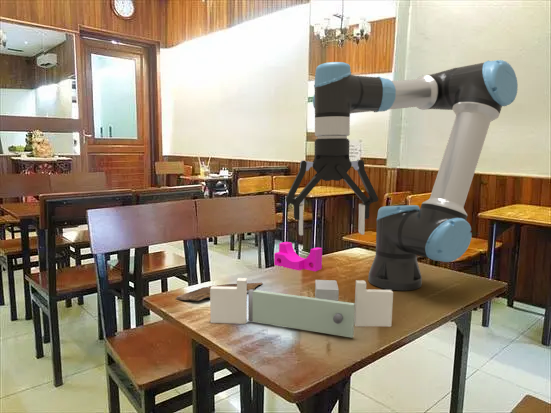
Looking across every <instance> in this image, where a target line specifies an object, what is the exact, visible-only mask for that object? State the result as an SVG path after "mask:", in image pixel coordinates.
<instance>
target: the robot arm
mask: <svg viewBox="0 0 551 413" xmlns="http://www.w3.org/2000/svg"><path fill="white" fill-rule="evenodd" d="M351 71H352V69H351V65H350V64H349V63H346V62H343V61H331V62H330V61H329V62H328V61H327V62H324V63H321V64H319V65H317V66H316V68H315V71H314V73H315V74H314V84H313V87H314V94H313V97H312V105H313V108H314V136H315V137H316V139H315V140H314V159H313V161H307V160H304V159H302V160H300V164H299V171H298V173H297V174H296V177H295V179H294V181H293V182H292V184H291V187H290V189H289V191H288V193H287V194H286V197H285V201H286V203H287V204H291V205H292V206H293V218H294V220H295V221H298V235H299V236H304V206H303V204H302V202H303V201H304V200H305V198H306V197H307V196H308V195H309V194H310V193H311V191H312V190H313V189H314V188H315V187H316V185H317V184H318V183H320V181H321V180H322V181H324V182H329V181H334V182H340V181H342V180H343V181H344V182H345V183H346V185H347V186H348V187H349V188H350V189H351V190H352V192H354V194H355V195H356V197H357V198H359V200H360V201H361V202H362V203H358V227H357V228H358V229H357V230H358V234H360V235H365V226H366V224H365V220H368V219H369V218H370V206H371V204H372V203H376V202H378V201H379V197H378V195H377V193H376V191H375V189H374V187H373V185H372V182H371V181H370V178H369V176H368V174H367V172H366V170H365V161H364V160H362V159H357V160H352V161H351V158H350V139H349V138H348V137H349V136H350V134H351V133H350V129H351V128H350V126H351V125H350V122H351V121H350V120H351V114H358V113H368V112H369V113H370V112H373V113H379V112H386V111H388V110H398V109H408V108H418V109H419V110H422V111H423V110H445V111H453V113H454V114H455V118H454V120H453V121H454V122H453V125H452V127H451V131H450V134H449V137H448V140H447V143H446V145H445V150H444V153H443V156H442V160H441V162H440V165H439V169H438V172H437V175H436V177H435V178H436V179H435V180H434V185H433V187H432V190H431V193H430V197H429V199H426V200H425V201H423V202H422V203H421V204H420V206H419V205H416V204H405V205H386V206H385V205H384V206H381V207H380V208H379V209H378V211H377V218H376V228H375V230H376V231H375V232H376V234H375V255H374V259H373V261H372V264H371V266H370V269H369V272H368V282H369V284H370V285H373V286H375V287H378V288H381V289H384V290H392V291H413V290H418V289H420V288H421V287H422V283H423V282H422V280H423V278H422V274H421V273H422V272H421V270H420V266H419V262H418V258H417V256H420V257H424V258H428V259H430V260H432V261H435V262H437V261H438V262H439V261H440V262H443V263H451V262H454V261H456V260H458V259H459V258H461V257H462V256H463V255H464V254H465V253H466V251H467V250H468V248H469V246H470V244H471V241H472V236H473V234H472V232H471V231H472V226H471V224H470V223H469V222H468V220H467V219H468V213H467V212H466V210H465V208H464V207H465V203H466V202H467V201H466V200H467V198H468V194H469V191H470V188H471V186H472V185H471V184H472V181H473V178H474V176H475V172H476V169H477V166H478V163H479V159H480V156H481V153H482V149H483V147H484V144H485V140H486V138H487V134H488V131H489V128H490V125H491V123H492V122H493V121H495V120H497V119H498V118H499V116H500V114H501V111H502V108H503V107H507V106H509V105H511V104H512V103H514V102H515V100H516V97H517V93H518V90H519V89H518V78H517V75H516V71H515V70H514V67H512V65H511V64H510V63H509V62H507V61H506V60H502V59H497V60H486V61H484V62H481V63H475V64H474V63H473V64H469V65H464V66H459V67H453V68H449V69H447V70H442V71H439V72H436V73H432V74H424V75H423V74H422V75H421V76H419V77H417V78H415V79H402V80H401V79H400V80H399V79H398V80H390V79H389V78H386V77H385V78H384V77H380V76H366V75H365V76H364V75H354V74H352V72H351ZM352 167H353V169H354V170H355V171H356V172H357V174H358V176H359V178H360V180H361V182H362V184H363V186H364V188H365V191H366V192H367V195H368V196H366V194H365V193H364V192H363V191H362V190H361V188H360V187H359V186H358V185H357V183H356V182H354V180H353V179H352V178H351V176H350V175H349V174H348V172H349V170H351V168H352ZM310 168H313V170H314V171H315V172H316V173H315V174H314V176H312V178H311V179H310V180H309V181H308V183H307V184H306V185H305V186H304V187H303V189H302V190H300V192H299V194H298V195H297V196H296V197H295V195H296V193H297V191H298V189H299V187H300V184H301V183H302V181H303V178H305V175H306V172H308V171H310Z"/></svg>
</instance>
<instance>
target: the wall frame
mask: <svg viewBox="0 0 551 413" xmlns="http://www.w3.org/2000/svg"><path fill="white" fill-rule="evenodd" d="M247 279H248V278H247V277H237V280H236V284H237V287H222V286H217V285H210V286H211V288H210V297H209V299H210V300H209V302H210V304H209V305H210V323H211V324H237V325H239V324H240V325H242V324H243V325H246V324H247V318H248V316H247V314H248V307H247V305H248V303H247V302H248V301H247V299H248V296H247V295H248V294H247V292H248V291H247V283H248V280H247ZM393 291H394V290H390V289H372V288H371V289H367V282H366V280H362V279H361V280H358V279H356V280H355V291H354V292H355V293H354V303H355V310H354V327H364V328H365V327H392V321H393V305H394V304H393V303H394V302H393V301H394V292H393Z"/></svg>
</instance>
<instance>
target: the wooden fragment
mask: <svg viewBox="0 0 551 413" xmlns="http://www.w3.org/2000/svg"><path fill="white" fill-rule="evenodd" d="M259 285H260V286H261V285H263V282H247V292H249V290H250V289H253V290H256V288H257V287H258V286H259ZM211 286H212V285H209V286H206V287H203V286H202V287H200V288H198V289H195V290H193V291H190V292H187V293H186V292H185V293H183V294H180V295H177V296H176V298H175V300H182V301H196V302H197V301H201V300H204V299H207V298H209V299H210V288H211ZM216 286H222V287H237V283H226V284H219V285H218V284H217V285H216Z"/></svg>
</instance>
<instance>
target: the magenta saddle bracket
mask: <svg viewBox="0 0 551 413" xmlns="http://www.w3.org/2000/svg"><path fill="white" fill-rule="evenodd" d="M309 250H310V251H309V253H308V256H307V257H306V258H305V257H301V256H300V255H298V254H297V253H296V251H295V250H294V247H293V243H292V242H290V241H284V242H279V244H278V251H277V252H274V253H273V254H274V255H273V256H274V259H273V261H274V262H273V263H274V264H273V265H274V266H277V267H281V266H283V267H282V268H286V269H291V270H295V271H301V270H307V271H310V272H311V271H312V272H318V271H320V270H322V269H323V268H322V267H323V248H322V247H316V246H315V247H313V248H311V249H309Z"/></svg>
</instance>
